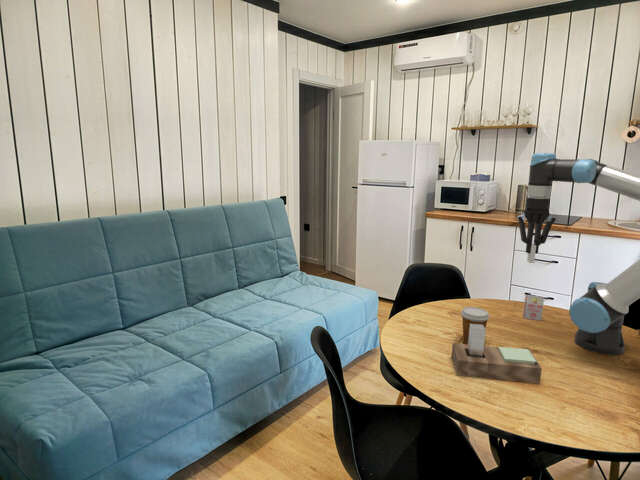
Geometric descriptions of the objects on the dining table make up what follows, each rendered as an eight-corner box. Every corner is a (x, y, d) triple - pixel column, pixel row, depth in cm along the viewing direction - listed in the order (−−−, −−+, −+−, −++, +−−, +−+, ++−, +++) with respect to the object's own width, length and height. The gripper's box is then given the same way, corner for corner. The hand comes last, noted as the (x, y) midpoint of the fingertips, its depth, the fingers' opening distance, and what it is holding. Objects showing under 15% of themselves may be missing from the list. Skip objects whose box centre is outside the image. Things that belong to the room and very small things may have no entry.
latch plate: (529, 352, 133) (529, 349, 133) (537, 364, 125) (538, 361, 125) (498, 349, 135) (498, 346, 134) (504, 361, 127) (504, 358, 127)
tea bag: (522, 315, 177) (525, 293, 175) (540, 318, 174) (543, 295, 172) (523, 318, 174) (526, 295, 172) (541, 321, 171) (544, 298, 169)
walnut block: (527, 364, 136) (529, 350, 135) (539, 383, 124) (541, 368, 123) (451, 356, 140) (452, 342, 139) (456, 375, 128) (458, 360, 127)
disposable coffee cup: (488, 349, 145) (492, 317, 143) (460, 346, 147) (463, 315, 145) (483, 337, 155) (487, 307, 152) (457, 335, 156) (459, 305, 154)
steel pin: (478, 364, 135) (483, 324, 132) (481, 371, 131) (485, 329, 128) (465, 363, 135) (469, 323, 132) (467, 369, 132) (472, 328, 129)
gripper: (553, 196, 149) (545, 260, 154) (515, 195, 151) (508, 258, 156) (562, 199, 142) (553, 265, 147) (522, 198, 144) (515, 263, 149)
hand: (530, 261), depth 151 cm, fingers closed
